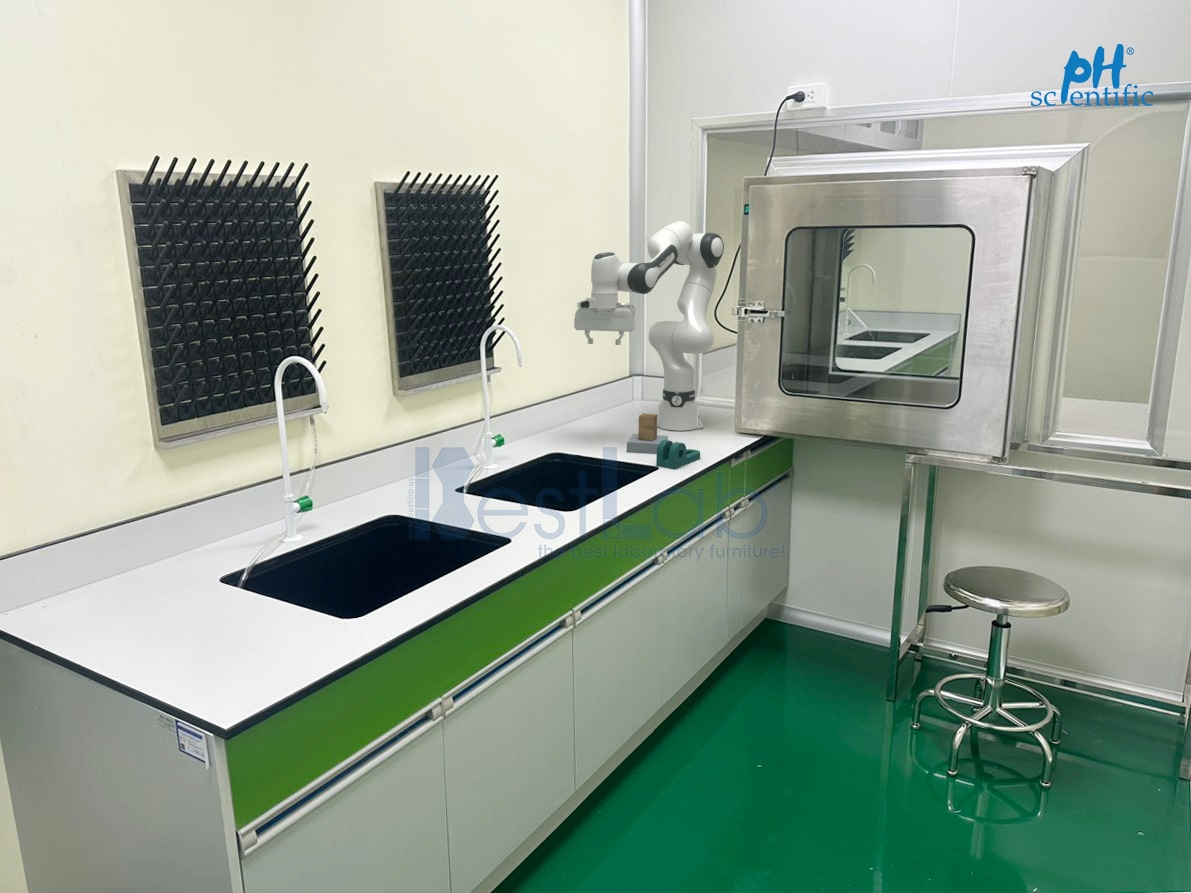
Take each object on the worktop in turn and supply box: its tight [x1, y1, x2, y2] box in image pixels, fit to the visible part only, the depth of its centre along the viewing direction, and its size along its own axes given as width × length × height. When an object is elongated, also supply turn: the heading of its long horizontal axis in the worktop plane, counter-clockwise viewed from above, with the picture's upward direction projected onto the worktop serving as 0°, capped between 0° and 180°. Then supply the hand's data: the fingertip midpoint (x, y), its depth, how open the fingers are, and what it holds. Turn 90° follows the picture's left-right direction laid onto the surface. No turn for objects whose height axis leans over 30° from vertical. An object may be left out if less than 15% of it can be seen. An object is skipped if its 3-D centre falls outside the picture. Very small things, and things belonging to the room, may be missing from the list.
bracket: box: [655, 440, 701, 470], centre depth 275 cm, size 18×7×8 cm, turn 143°
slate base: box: [626, 433, 669, 455], centre depth 291 cm, size 12×12×4 cm
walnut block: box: [637, 413, 658, 441], centre depth 289 cm, size 5×5×8 cm
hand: (604, 344), depth 291 cm, fingers open, 8 cm apart
